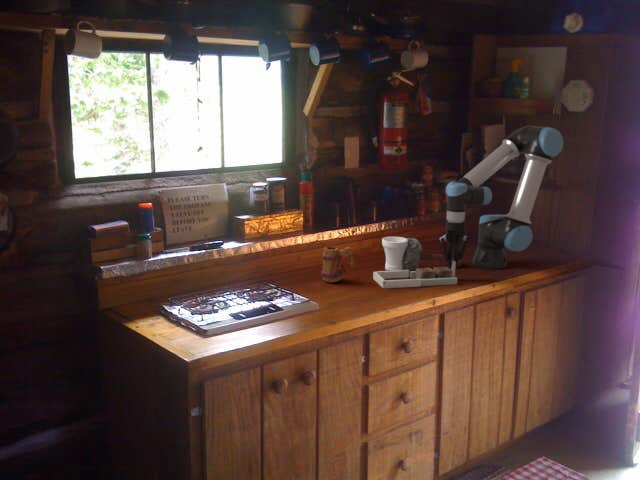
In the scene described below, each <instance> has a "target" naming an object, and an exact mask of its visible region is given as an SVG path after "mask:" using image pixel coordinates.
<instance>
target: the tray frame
mask: <svg viewBox="0 0 640 480" xmlns="http://www.w3.org/2000/svg"><path fill="white" fill-rule="evenodd" d="M405 278H406V279H405ZM408 278H409V279H408ZM372 279H373V280H374V281H375V282H376V283H377V284H378V285H379V286H380V287H381V288H382V289H397V288H398V289H400V288H418V287H421V286H420V279H416V278H410V271H409V270H398V271H386V270H381V271H380V270H379V271H373V273H372ZM386 279H388V280H386Z"/></svg>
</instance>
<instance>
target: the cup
mask: <svg viewBox="0 0 640 480" xmlns="http://www.w3.org/2000/svg"><path fill="white" fill-rule="evenodd" d="M381 245H382V246H383V250H384V255H385V264H384V265H385V266H384V269H385V270H384V271H398V270H402V269H403V267H402V262H403V255H404V252H405V250H406V247H407V245H408V240H407V238H405V237H403V236H402V237H401V236H385V237H383V238H382V239H381Z"/></svg>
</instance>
